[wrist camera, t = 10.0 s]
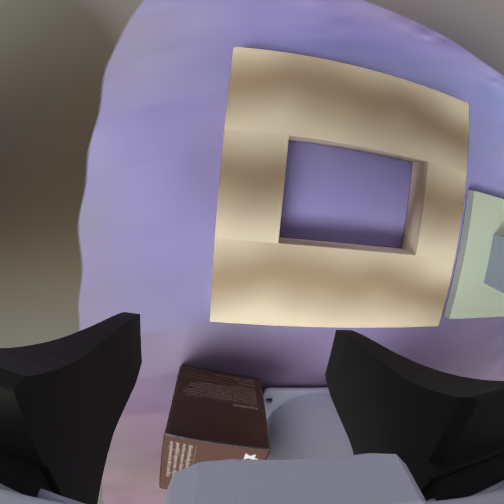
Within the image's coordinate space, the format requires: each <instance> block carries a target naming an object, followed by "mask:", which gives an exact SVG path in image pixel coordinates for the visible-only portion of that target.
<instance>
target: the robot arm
mask: <svg viewBox="0 0 504 504" xmlns="http://www.w3.org/2000/svg"><path fill="white" fill-rule="evenodd" d="M141 363H142V359H141V336H140V314H134V313H127V312H123V313H120V314H117V315H115V316H113V317H110V318H108V319H106V320H104V321H102V322H100V323H98V324H95V325H93V326H91V327H89V328H86V329H84V330H81V331H79V332H76V333H74V334H72V335H69V336H66V337H63V338H60V339H57V340H53V341H50V342H45V343H41V344H35V345H29V346H24V347H15V348H0V504H97V502H98V496H99V490H100V485H101V480H102V475H103V471H104V466H105V462H106V458H107V454H108V450H109V447H110V443H111V440H112V436H113V433H114V430H115V428H116V425H117V423H118V421H119V418H120V416H121V414H122V412H123V410H124V407H125V405H126V403H127V401H128V399H129V397H130V394H131V392H132V390H133V388H134V386H135V383H136V380H137V377H138V374H139V370H140V366H141ZM325 376H326V381H327V385H328V387H325V388H267V389H265V390H264V391H263V398H264V404H265V411H266V419H267V425H268V432H269V441H270V447H271V452H270V454H269V456H268V458H267V460H246V459H227V460H215V461H201V462H198V463H196V464H194V465H191V466H189V467H187V468H185V469H183V470H180V471H178V472H176V473H174V474H173V477H172V479H171V481H170V483H169V486H168V488H167V493H166V500H165V504H504V381H489V380H479V379H472V378H466V377H460V376H456V375H452V374H448V373H444V372H441V371H437V370H434V369H431V368H429V367H426V366H423V365H420V364H418V363H416V362H413V361H411V360H409V359H407V358H405V357H403V356H400V355H398V354H396V353H395V352H393V351H391V350H389V349H387V348H385V347H383V346H381V345H380V344H378V343H376V342H374V341H372V340H371V339H369V338H367V337H365V336H363V335H361V334H359V333H357V332H354V331H352V330H336V334H335V338H334V342H333V346H332V351H331V355H330V359H329V363H328V367H327V370H326V374H325ZM267 398H271V400H266V399H267Z"/></svg>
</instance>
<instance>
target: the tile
mask: <svg viewBox="0 0 504 504" xmlns="http://www.w3.org/2000/svg"><path fill="white" fill-rule="evenodd" d="M493 234H495V235H500V236H504V199H502V198H498V197H495V196H492V195H488V194H484V193H481V192H477V191H473V190H468V191H467V200H466V209H465V216H464V223H463V230H462V236H461V242H460V247H459V253H458V258H457V263H456V267H455V272H454V277H453V281H452V285H451V289H450V294H449V298H448V301H447V305H446V309H445V313H444V316H445V317H447V318H448V319H465V318H485V317H501V316H504V293H502V292H500V291H498V290H496V289H494V288H492V287H490V286H488V285H486V284H485V283H484V279H485V275H486V270H487V266H488V261H489V256H490V251H491V245H492V239H493Z"/></svg>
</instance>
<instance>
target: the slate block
mask: <svg viewBox="0 0 504 504" xmlns="http://www.w3.org/2000/svg"><path fill="white" fill-rule="evenodd" d="M484 283H485V284H486V285H488V286H490V287H492V288H494V289H496V290H498V291H500V292H502V293H504V236H500V235H495V234H493V239H492V245H491V251H490V256H489V261H488V266H487V270H486V275H485V279H484Z"/></svg>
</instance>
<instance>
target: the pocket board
mask: <svg viewBox="0 0 504 504" xmlns="http://www.w3.org/2000/svg"><path fill="white" fill-rule="evenodd" d="M289 140H291V141H299V142H306V143H313V144H320V145H326V146H333V147H339V148H345V149H350V150H356V151H361V152H367V153H372V154H377V155H382V156H387V157H391V158H396V159H401V160H405V161H409V162H412V173H411V183H410V192H409V201H408V209H407V216H406V223H405V230H404V236H403V243H402V249H401V248H391V247H381V246H370V245H360V244H349V243H338V242H327V241H316V240H305V239H293V238H282V237H279V231H280V222H281V212H282V203H283V193H284V183H285V173H286V162H287V152H288V141H289ZM468 143H469V103H467V102H464V101H462V100H460V99H457V98H455V97H452V96H450V95H447V94H445V93H442V92H439V91H437V90H434V89H431V88H428V87H426V86H423V85H420V84H417V83H414V82H411V81H408V80H405V79H402V78H398V77H395V76H392V75H388V74H385V73H381V72H378V71H374V70H370V69H366V68H363V67H358V66H354V65H350V64H346V63H341V62H337V61H332V60H327V59H322V58H317V57H311V56H306V55H299V54H293V53H286V52H279V51H271V50H263V49H254V48H243V47H234V49H233V57H232V65H231V73H230V82H229V90H228V99H227V109H226V118H225V128H224V138H223V148H222V158H221V169H220V181H219V192H218V204H217V217H216V230H215V244H214V259H213V275H212V291H211V310H210V321H211V322H224V323H239V324H256V325H275V326H300V327H343V328H387V327H429V326H438V325H439V322H440V318H441V315H442V311H443V308H444V304H445V300H446V296H447V292H448V288H449V284H450V279H451V275H452V270H453V265H454V261H455V255H456V250H457V245H458V239H459V233H460V227H461V220H462V213H463V205H464V197H465V187H466V176H467V163H468Z"/></svg>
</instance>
